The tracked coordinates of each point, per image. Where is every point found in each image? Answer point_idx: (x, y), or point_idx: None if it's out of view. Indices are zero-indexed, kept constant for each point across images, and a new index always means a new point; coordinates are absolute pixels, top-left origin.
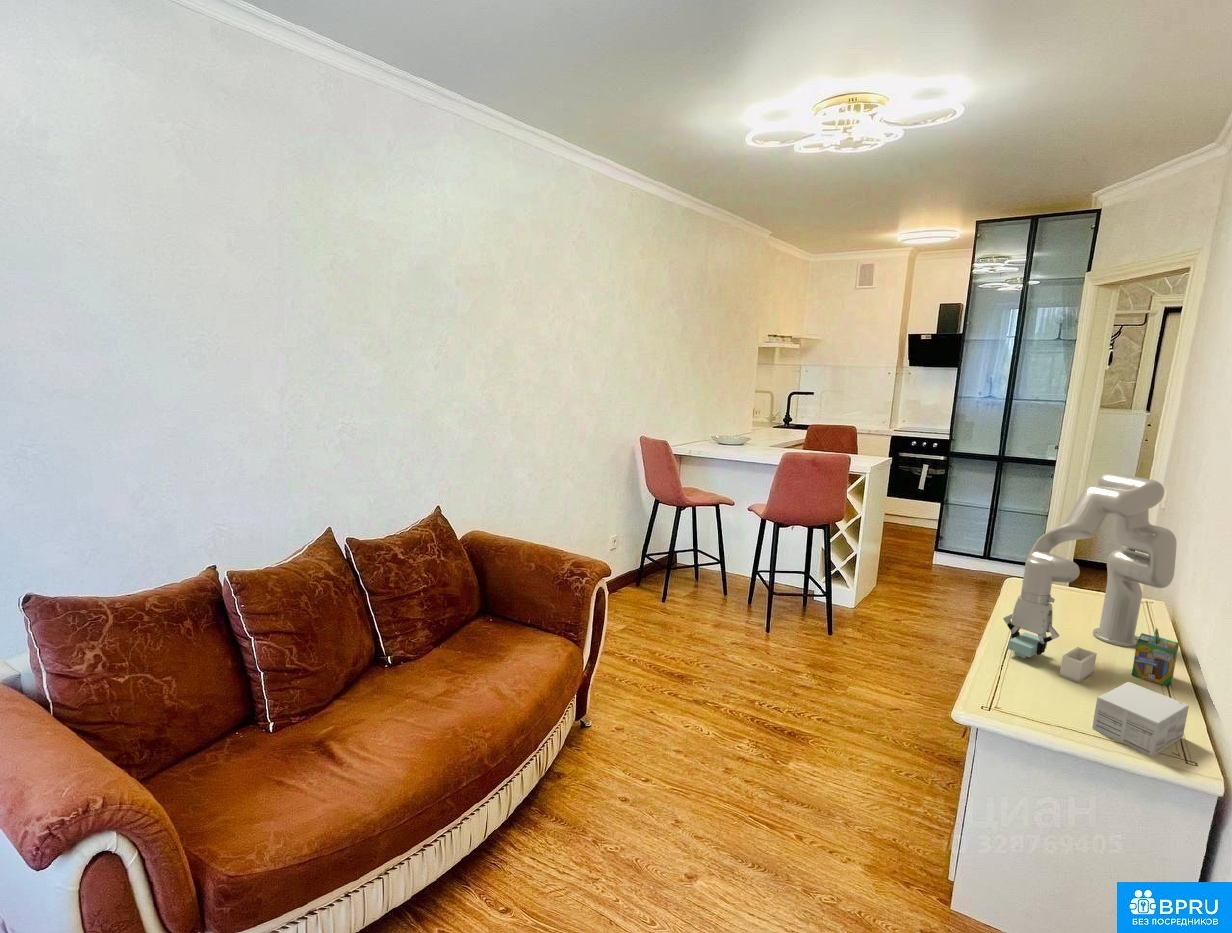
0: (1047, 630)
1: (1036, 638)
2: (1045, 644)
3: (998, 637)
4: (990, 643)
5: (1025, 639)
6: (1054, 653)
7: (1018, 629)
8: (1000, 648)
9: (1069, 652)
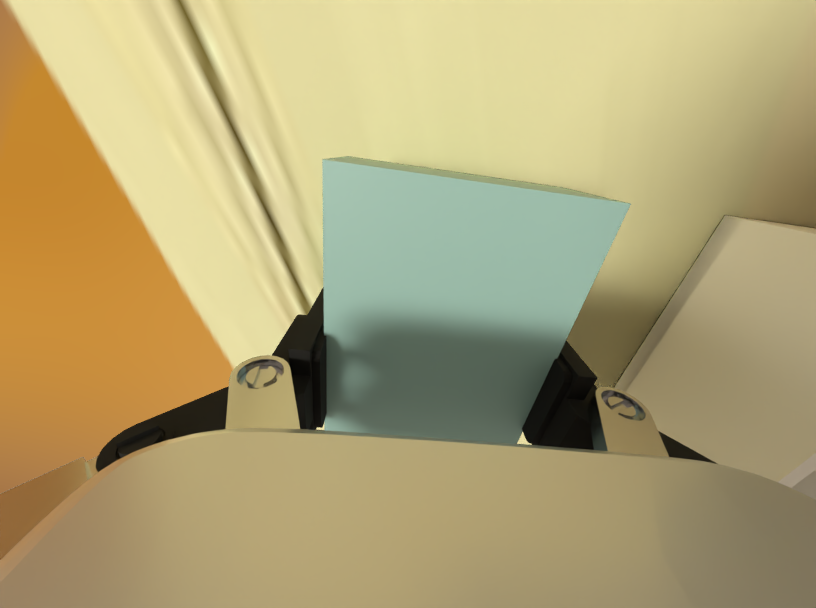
0: (774, 509)
1: (497, 284)
2: (593, 389)
3: (113, 90)
4: (190, 292)
5: (410, 396)
6: (609, 35)
7: (287, 411)
8: (274, 318)
9: (796, 474)
